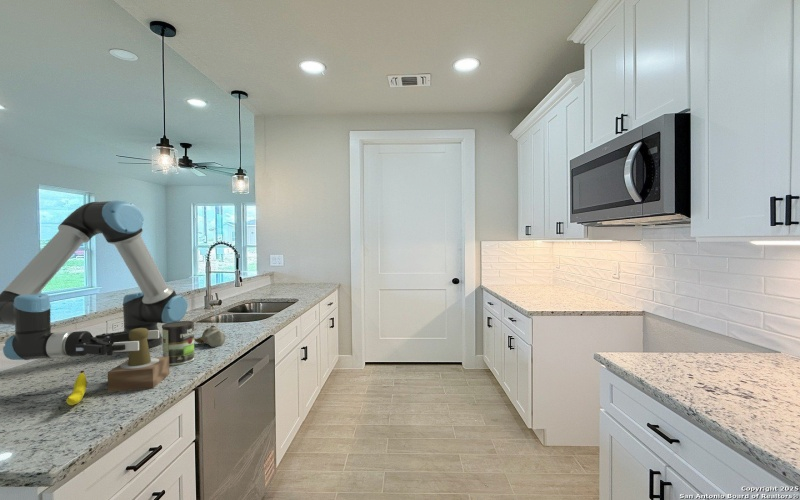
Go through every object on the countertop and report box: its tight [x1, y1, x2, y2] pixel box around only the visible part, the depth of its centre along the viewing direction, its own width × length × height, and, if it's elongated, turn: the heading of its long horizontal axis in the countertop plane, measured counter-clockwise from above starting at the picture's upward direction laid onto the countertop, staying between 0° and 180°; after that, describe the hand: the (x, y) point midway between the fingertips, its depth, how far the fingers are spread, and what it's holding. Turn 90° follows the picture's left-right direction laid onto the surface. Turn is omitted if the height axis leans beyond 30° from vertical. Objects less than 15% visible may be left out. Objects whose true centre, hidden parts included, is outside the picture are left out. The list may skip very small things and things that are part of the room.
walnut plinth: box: [107, 356, 171, 393], centre depth 115 cm, size 12×12×6 cm
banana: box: [65, 370, 88, 406], centre depth 100 cm, size 3×19×6 cm, turn 34°
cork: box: [127, 328, 152, 366], centre depth 114 cm, size 6×6×11 cm
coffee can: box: [161, 320, 196, 366], centre depth 135 cm, size 10×10×14 cm
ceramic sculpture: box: [194, 324, 227, 348], centre depth 156 cm, size 11×9×15 cm
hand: (149, 339), depth 115 cm, fingers open, 13 cm apart
